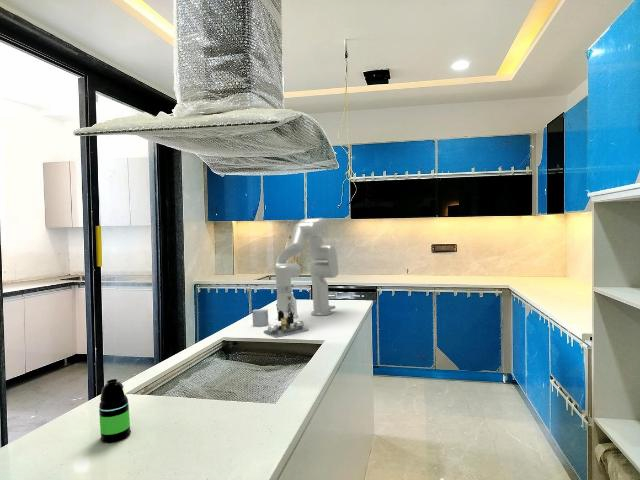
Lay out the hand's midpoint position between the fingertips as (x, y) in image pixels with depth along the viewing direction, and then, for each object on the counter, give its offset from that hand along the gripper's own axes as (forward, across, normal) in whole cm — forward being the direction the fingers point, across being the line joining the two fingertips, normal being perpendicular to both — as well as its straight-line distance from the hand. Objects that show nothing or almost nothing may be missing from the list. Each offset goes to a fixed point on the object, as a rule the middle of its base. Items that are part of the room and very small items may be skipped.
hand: (285, 322), depth 214 cm
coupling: (+4, 0, 0) cm, 4 cm away
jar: (+5, +28, -17) cm, 33 cm away
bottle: (+4, -65, +89) cm, 111 cm away
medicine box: (+5, +23, +3) cm, 24 cm away
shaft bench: (+5, 0, 0) cm, 5 cm away
